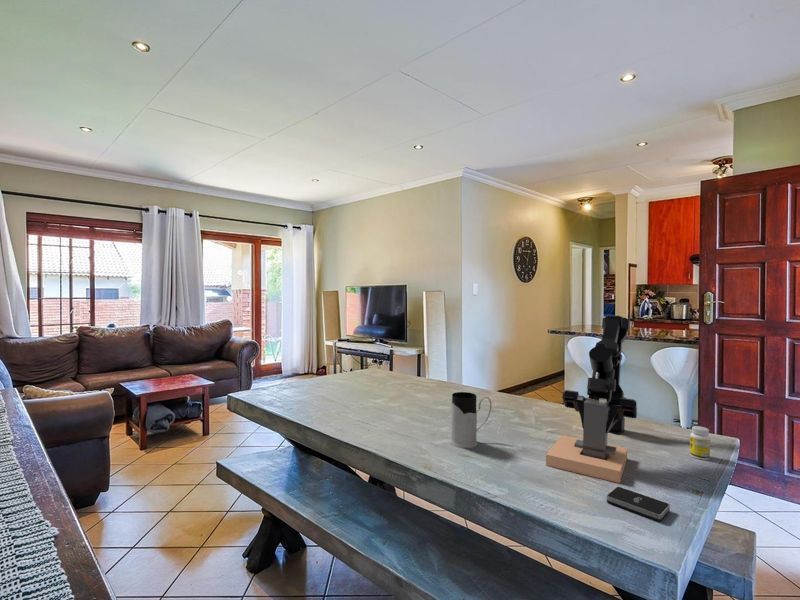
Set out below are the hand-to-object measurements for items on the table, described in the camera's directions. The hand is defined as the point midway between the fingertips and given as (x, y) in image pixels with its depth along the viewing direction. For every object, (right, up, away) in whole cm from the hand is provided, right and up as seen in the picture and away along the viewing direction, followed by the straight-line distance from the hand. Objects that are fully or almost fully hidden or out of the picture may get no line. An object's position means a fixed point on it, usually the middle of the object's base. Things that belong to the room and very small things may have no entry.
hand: (594, 430), depth 113 cm
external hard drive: (0, -11, -20) cm, 23 cm away
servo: (+1, -9, +1) cm, 9 cm away
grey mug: (-31, -9, +18) cm, 37 cm away
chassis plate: (-1, -10, +3) cm, 10 cm away
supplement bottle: (+34, -10, +8) cm, 36 cm away
